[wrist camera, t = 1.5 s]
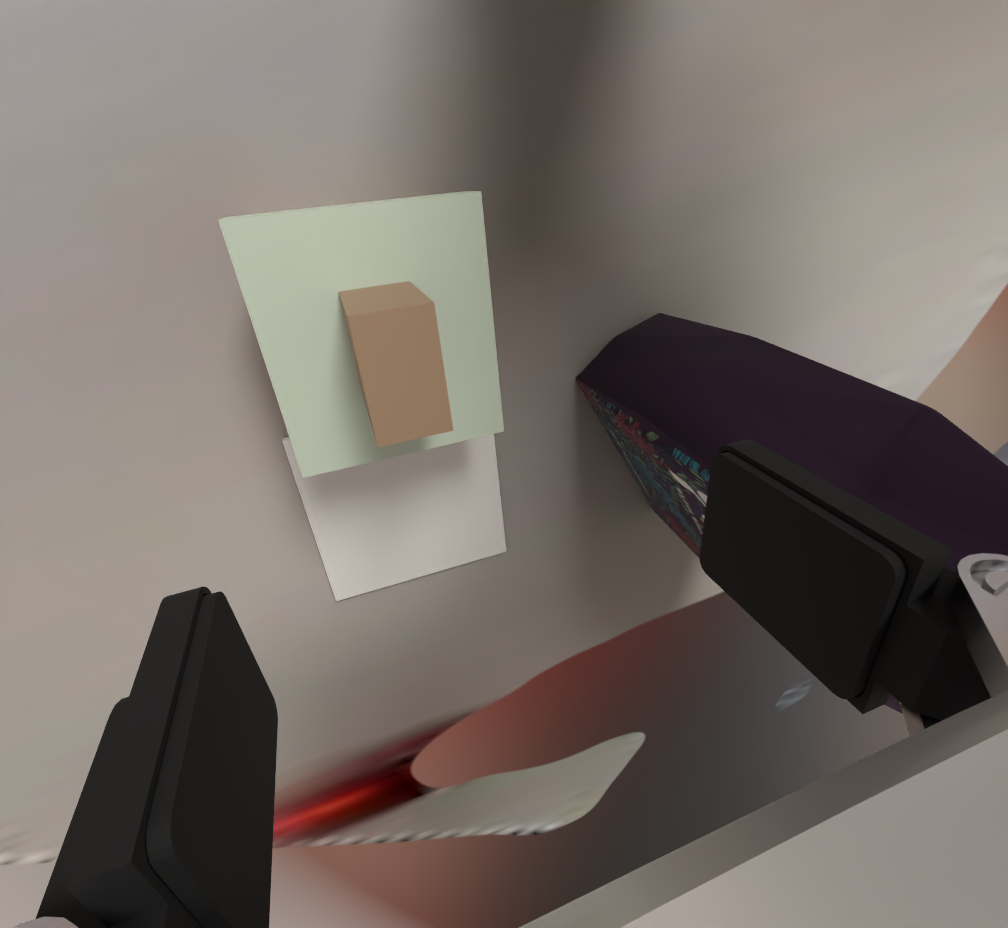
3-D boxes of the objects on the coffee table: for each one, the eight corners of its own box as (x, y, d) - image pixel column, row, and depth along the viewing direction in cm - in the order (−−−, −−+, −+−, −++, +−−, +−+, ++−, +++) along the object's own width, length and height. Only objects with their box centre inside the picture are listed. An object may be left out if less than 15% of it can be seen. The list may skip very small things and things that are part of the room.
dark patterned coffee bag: (650, 516, 44) (1036, 880, 21) (564, 373, 35) (1071, 732, 12) (726, 458, 44) (1198, 759, 21) (659, 300, 35) (1358, 518, 12)
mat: (282, 437, 31) (282, 440, 31) (488, 394, 34) (489, 396, 34) (335, 597, 37) (336, 601, 37) (504, 548, 41) (506, 551, 40)
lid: (225, 217, 21) (195, 228, 15) (467, 190, 23) (524, 191, 17) (302, 457, 26) (303, 537, 20) (491, 416, 29) (541, 475, 23)
